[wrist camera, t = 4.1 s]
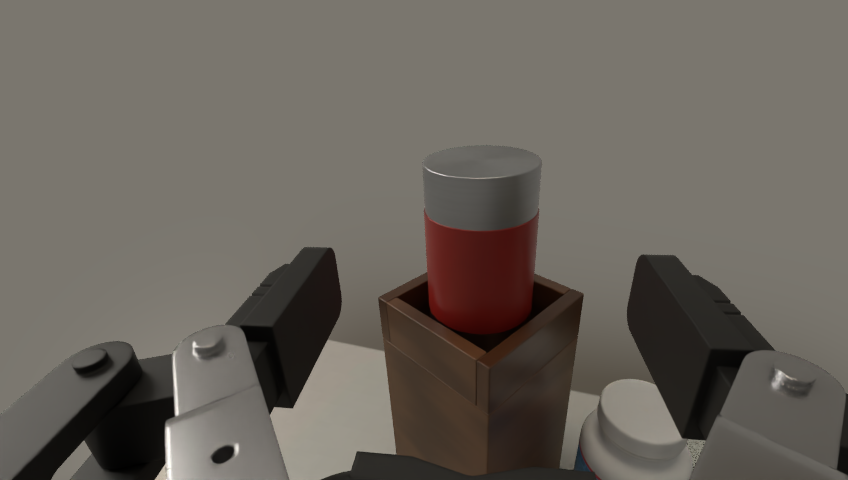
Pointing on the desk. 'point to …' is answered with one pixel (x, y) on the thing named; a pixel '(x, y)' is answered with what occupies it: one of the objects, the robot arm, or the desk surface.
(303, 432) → the desk surface
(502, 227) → the can
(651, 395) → the pill bottle
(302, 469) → the desk surface
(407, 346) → the can holder
